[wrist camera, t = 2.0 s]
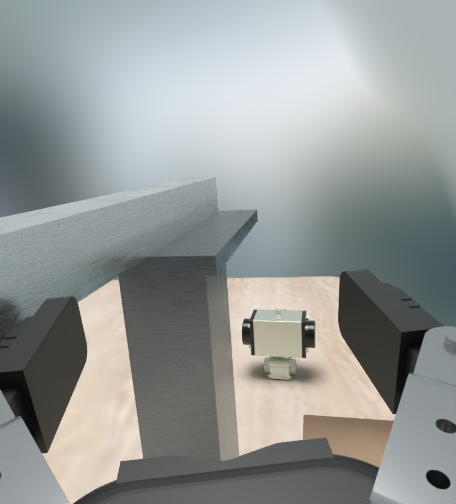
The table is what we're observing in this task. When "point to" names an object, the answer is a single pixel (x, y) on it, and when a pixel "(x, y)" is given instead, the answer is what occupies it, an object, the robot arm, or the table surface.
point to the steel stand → (185, 341)
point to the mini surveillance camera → (279, 339)
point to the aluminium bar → (91, 242)
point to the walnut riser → (350, 436)
